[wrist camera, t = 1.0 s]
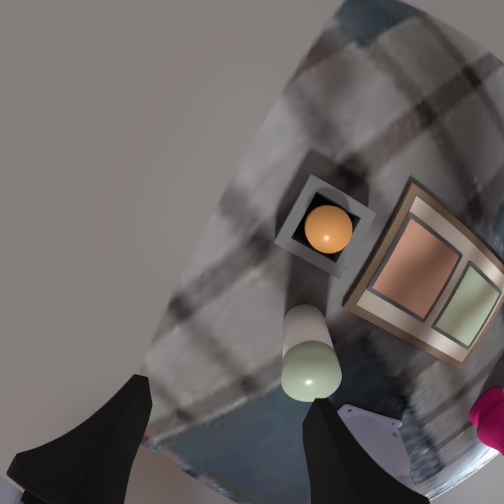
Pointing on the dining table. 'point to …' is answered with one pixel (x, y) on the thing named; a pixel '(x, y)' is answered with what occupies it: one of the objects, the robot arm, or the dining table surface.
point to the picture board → (430, 281)
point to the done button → (328, 228)
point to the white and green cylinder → (308, 355)
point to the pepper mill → (490, 418)
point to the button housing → (307, 252)
